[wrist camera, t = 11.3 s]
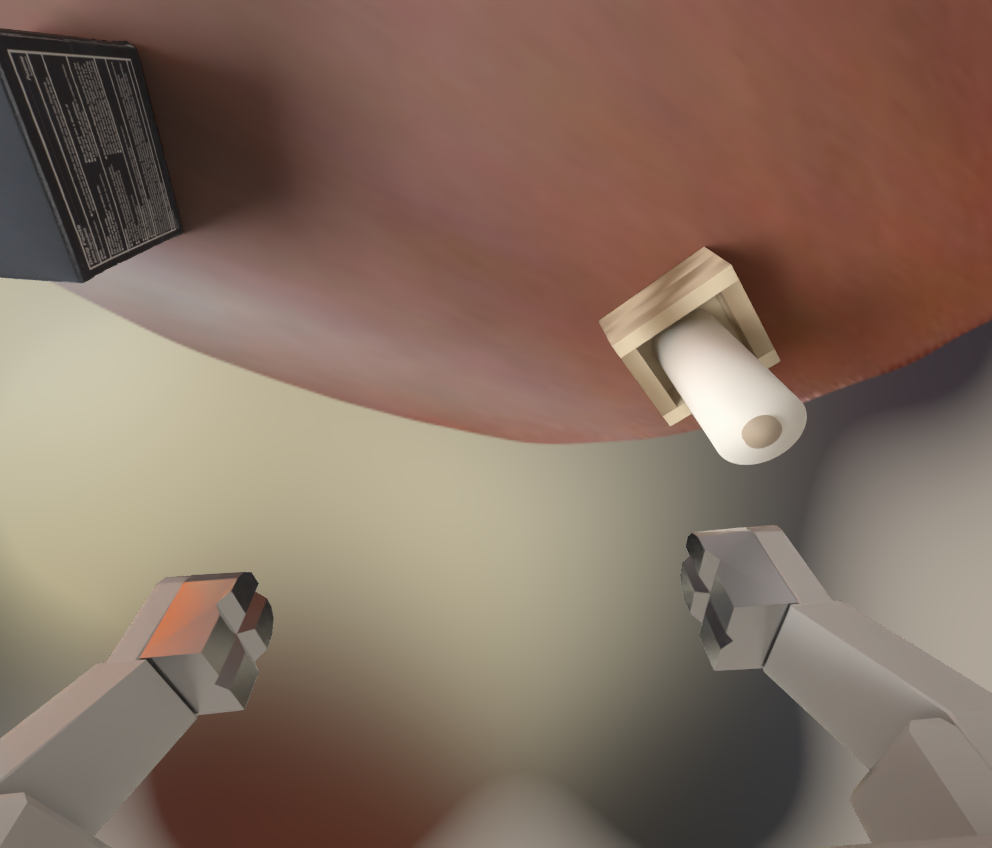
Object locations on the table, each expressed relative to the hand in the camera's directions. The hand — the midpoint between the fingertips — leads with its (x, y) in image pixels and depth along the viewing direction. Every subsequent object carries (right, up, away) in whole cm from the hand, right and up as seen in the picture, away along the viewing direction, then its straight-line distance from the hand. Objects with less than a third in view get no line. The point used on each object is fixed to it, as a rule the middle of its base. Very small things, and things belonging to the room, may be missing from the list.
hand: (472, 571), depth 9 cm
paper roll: (+15, +9, +28) cm, 33 cm away
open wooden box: (+15, +10, +30) cm, 35 cm away
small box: (-24, +20, +21) cm, 38 cm away
